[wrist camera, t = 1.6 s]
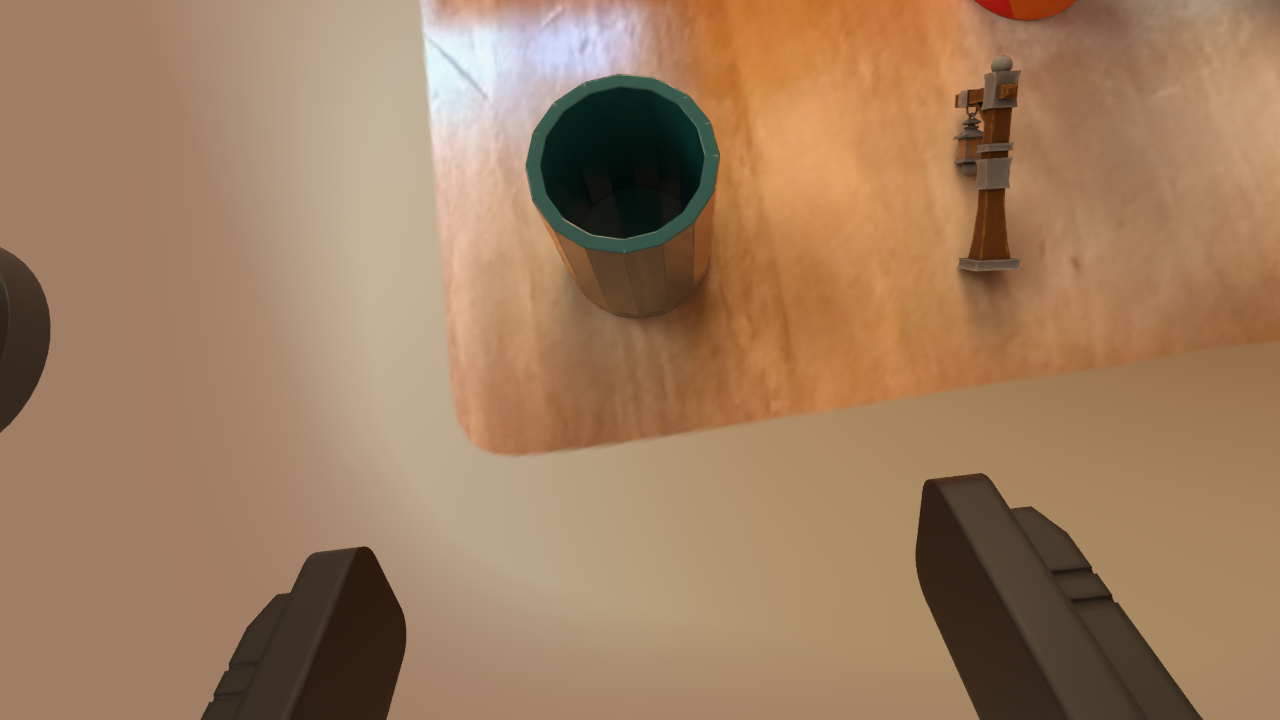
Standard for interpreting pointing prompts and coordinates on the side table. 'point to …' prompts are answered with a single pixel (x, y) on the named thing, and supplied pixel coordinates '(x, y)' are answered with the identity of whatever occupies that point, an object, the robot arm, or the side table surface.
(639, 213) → the teal open tube
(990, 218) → the wooden post with brackets
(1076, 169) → the side table surface
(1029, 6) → the coffee cup
